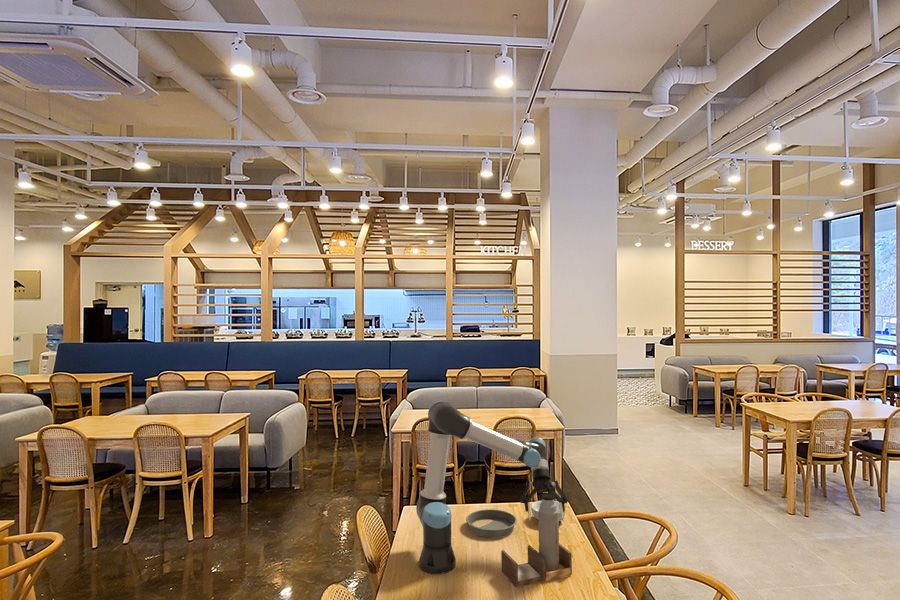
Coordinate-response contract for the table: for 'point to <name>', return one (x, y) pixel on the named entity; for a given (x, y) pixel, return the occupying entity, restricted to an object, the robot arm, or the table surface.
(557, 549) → the thermos bottle
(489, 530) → the cake pan
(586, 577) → the table surface
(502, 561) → the rack
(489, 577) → the table surface
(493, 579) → the table surface
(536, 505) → the cereal bowl
